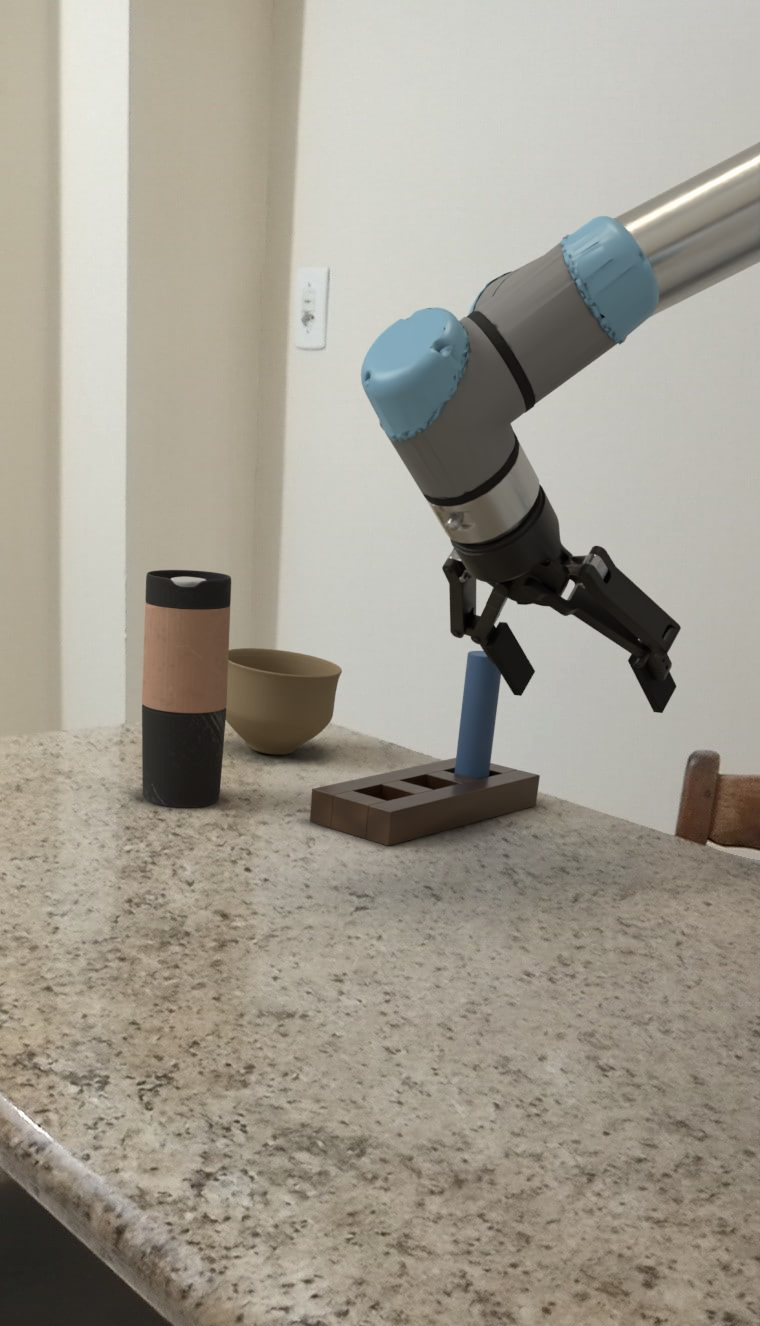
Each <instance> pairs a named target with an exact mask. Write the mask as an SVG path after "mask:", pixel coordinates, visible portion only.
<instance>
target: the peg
mask: <svg viewBox="0 0 760 1326" xmlns="http://www.w3.org/2000/svg"><path fill="white" fill-rule="evenodd" d="M501 678H502V674H501V673H500V671H499V670H498V668H497V666H496V665H495V664H493V663H492V662H491V661H490V660H489V659H488V657H487V655H486V654H485V652H484V651H483V650H471V651H468V652H467V656H466V666H465V675H464V684H463V691H462V692H463V693H462V701H461V711H460V720H459V729H458V738H457V747H456V756H455V758H456V764H455V773H454V774H458V775H462V776H466V777H470V778H474V779H477V780H478V779H482V778H486V777H489V770H490V763H492V753H493V745H494V737H495V728H496V720H497V712H498V705H499V704H498V703H499V696H500V695H499V694H500V686H501Z"/></svg>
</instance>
